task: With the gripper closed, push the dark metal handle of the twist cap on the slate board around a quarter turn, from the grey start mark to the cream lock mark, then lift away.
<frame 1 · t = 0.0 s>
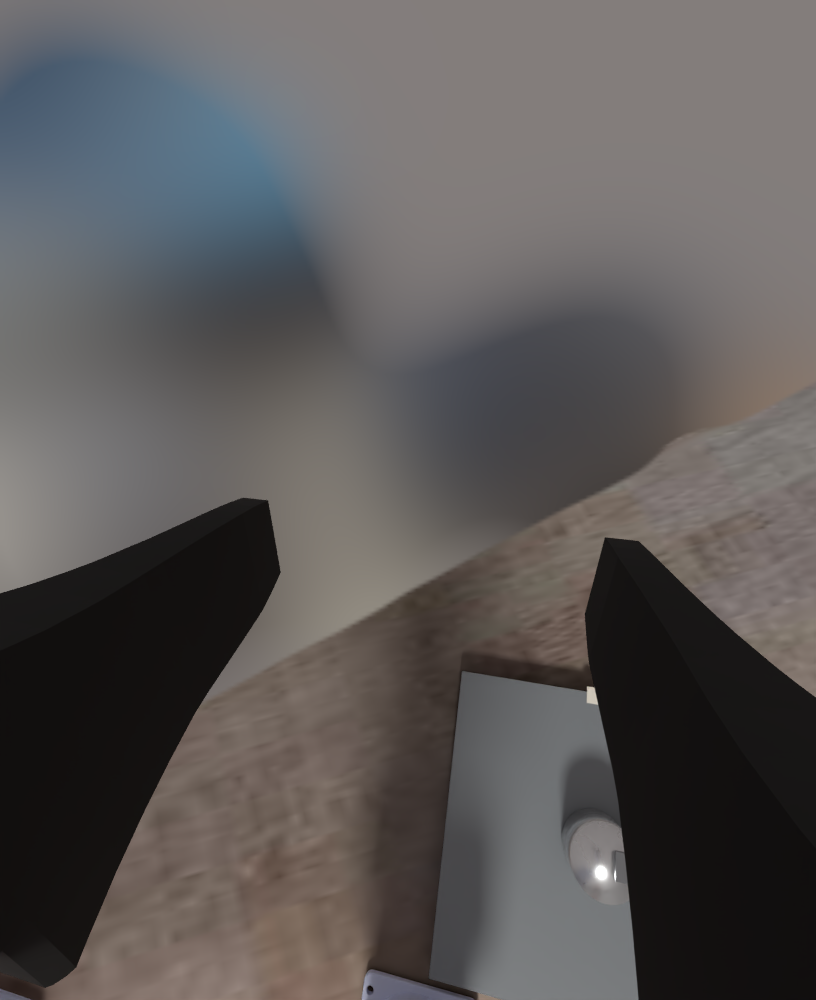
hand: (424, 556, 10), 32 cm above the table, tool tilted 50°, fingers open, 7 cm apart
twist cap: (659, 867, 30), point 4 cm above the table, hinge at 0.0°
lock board: (588, 835, 34), on the table
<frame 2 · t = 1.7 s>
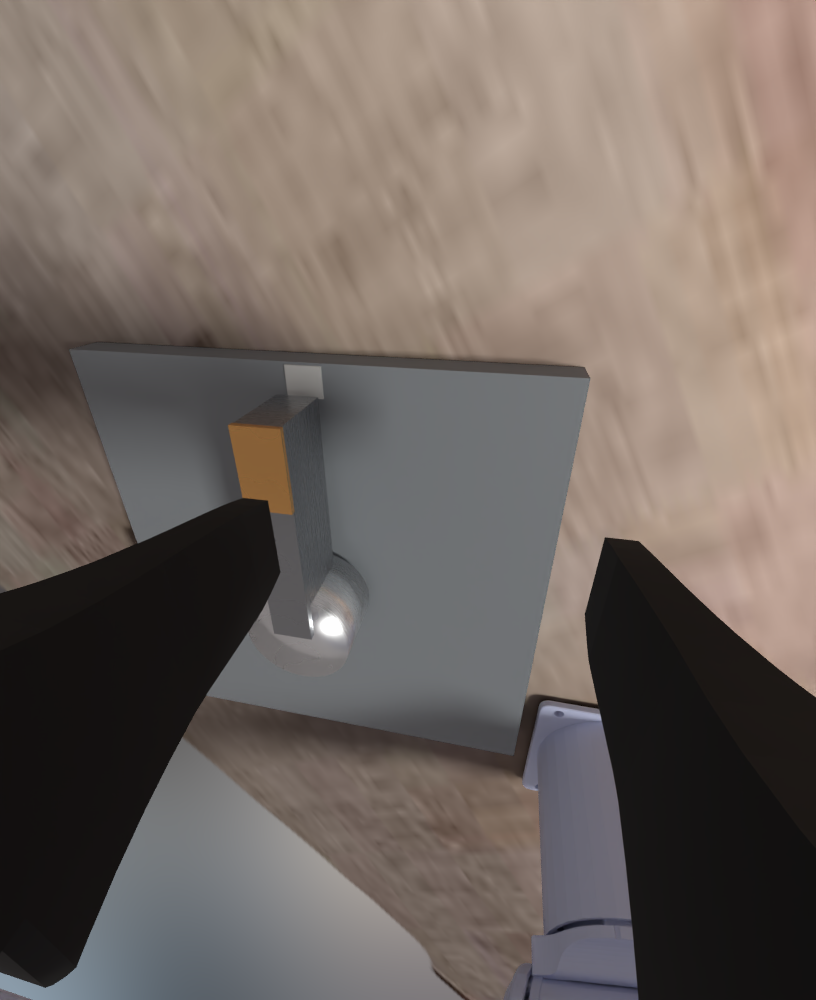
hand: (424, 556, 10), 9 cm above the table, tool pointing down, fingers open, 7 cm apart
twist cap: (300, 549, 18), point 4 cm above the table, hinge at 0.0°
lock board: (337, 566, 23), on the table
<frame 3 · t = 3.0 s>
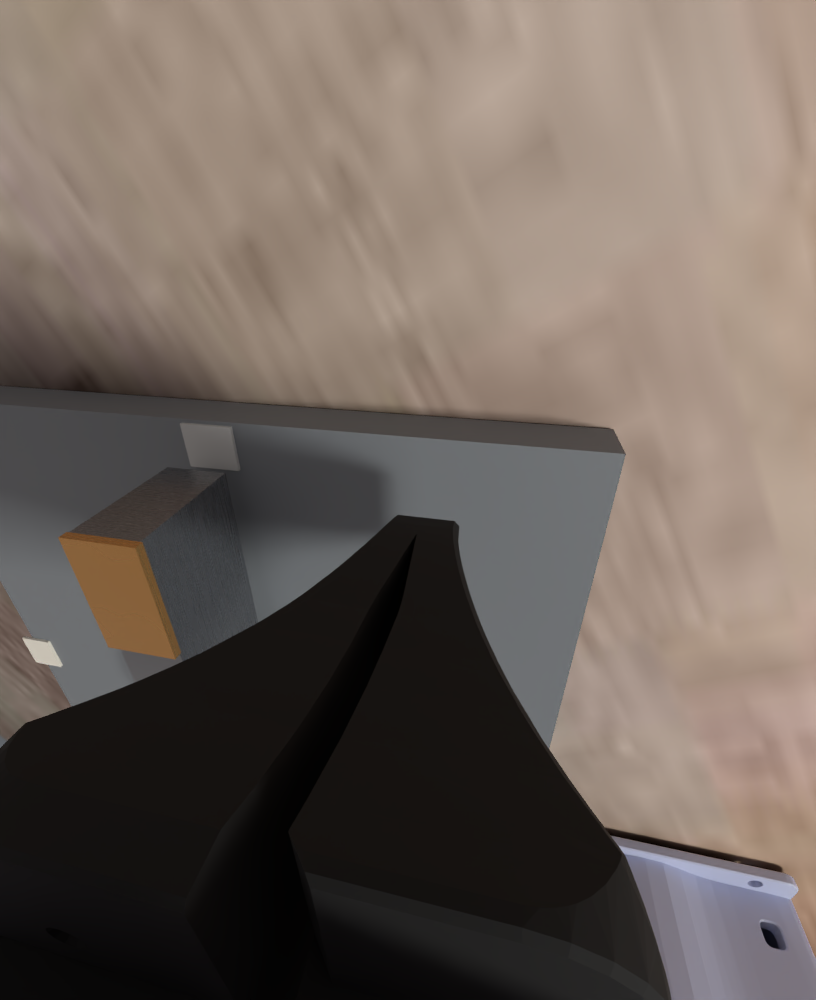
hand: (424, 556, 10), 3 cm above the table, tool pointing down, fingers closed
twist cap: (214, 673, 13), point 4 cm above the table, hinge at 0.0°
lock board: (285, 661, 18), on the table
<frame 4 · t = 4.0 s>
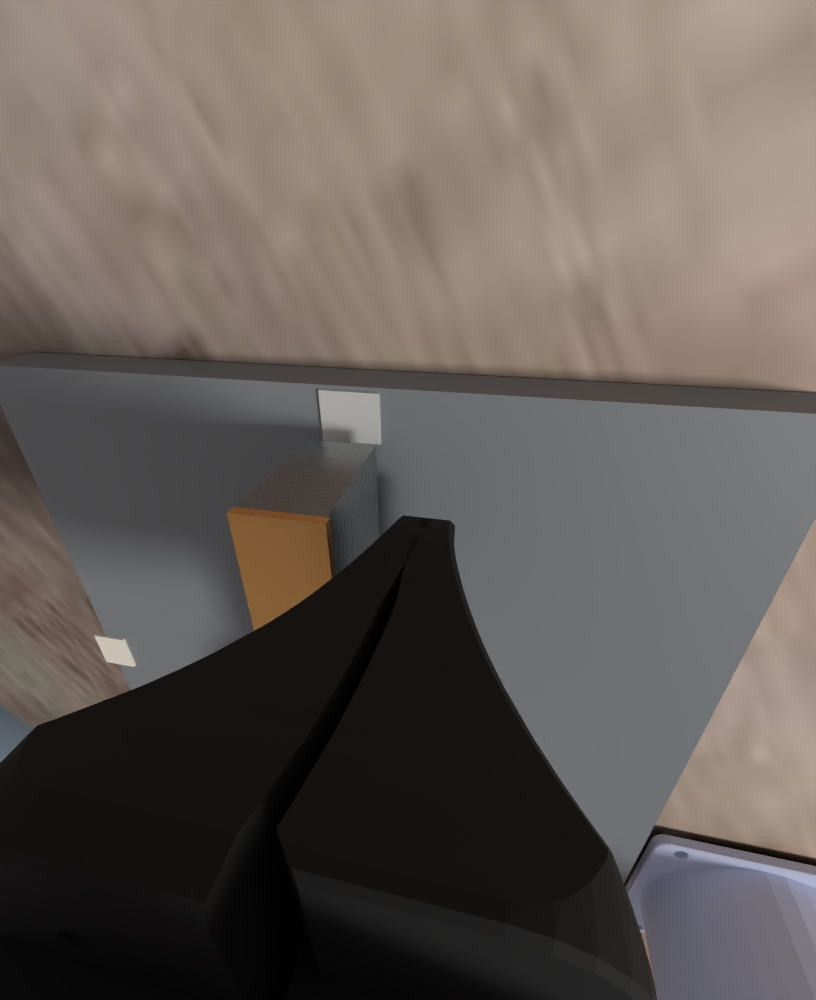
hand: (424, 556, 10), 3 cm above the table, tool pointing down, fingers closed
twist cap: (340, 673, 12), point 4 cm above the table, hinge at 0.0°, touching gripper
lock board: (380, 660, 17), on the table
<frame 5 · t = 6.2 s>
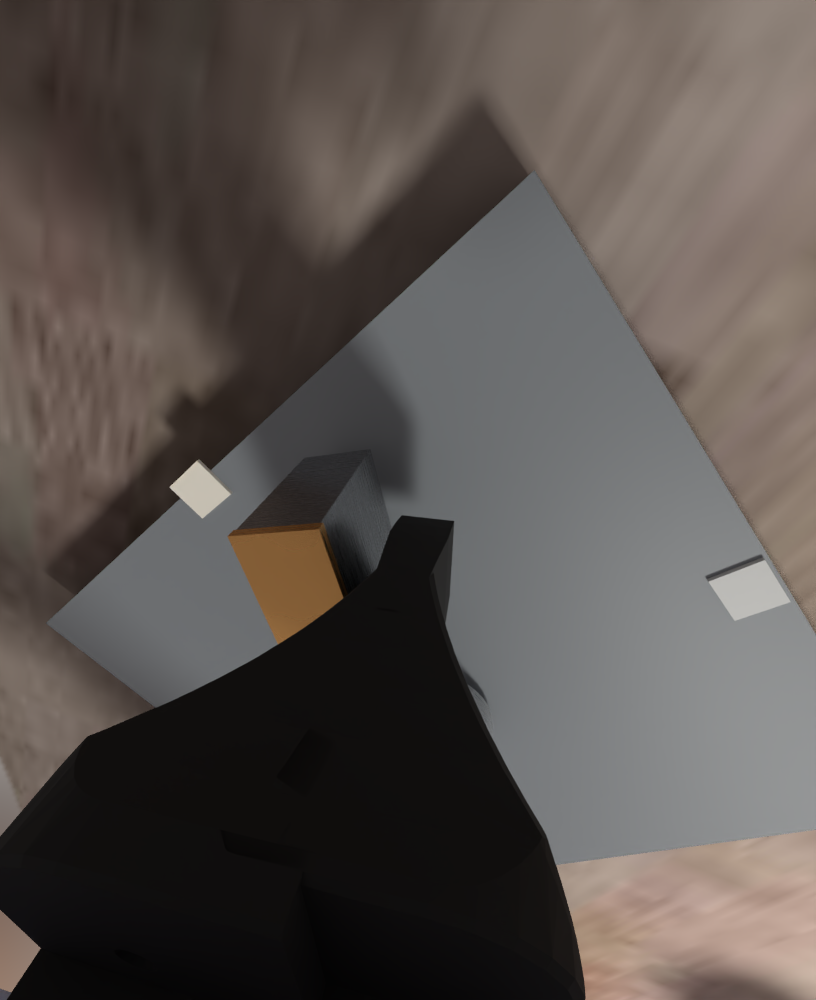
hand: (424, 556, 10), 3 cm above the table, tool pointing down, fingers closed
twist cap: (383, 684, 12), point 4 cm above the table, hinge at 62.3°, touching gripper
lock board: (432, 669, 16), on the table
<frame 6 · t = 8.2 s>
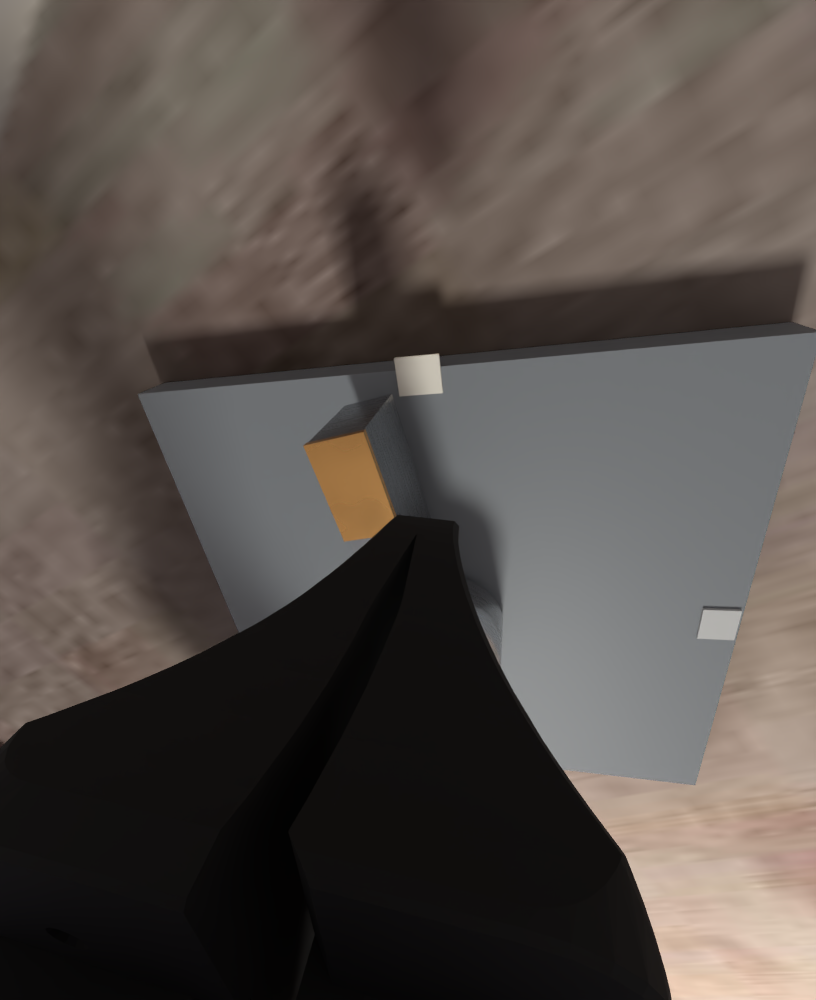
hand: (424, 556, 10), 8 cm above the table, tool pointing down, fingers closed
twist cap: (413, 575, 16), point 4 cm above the table, hinge at 99.2°
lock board: (452, 588, 20), on the table
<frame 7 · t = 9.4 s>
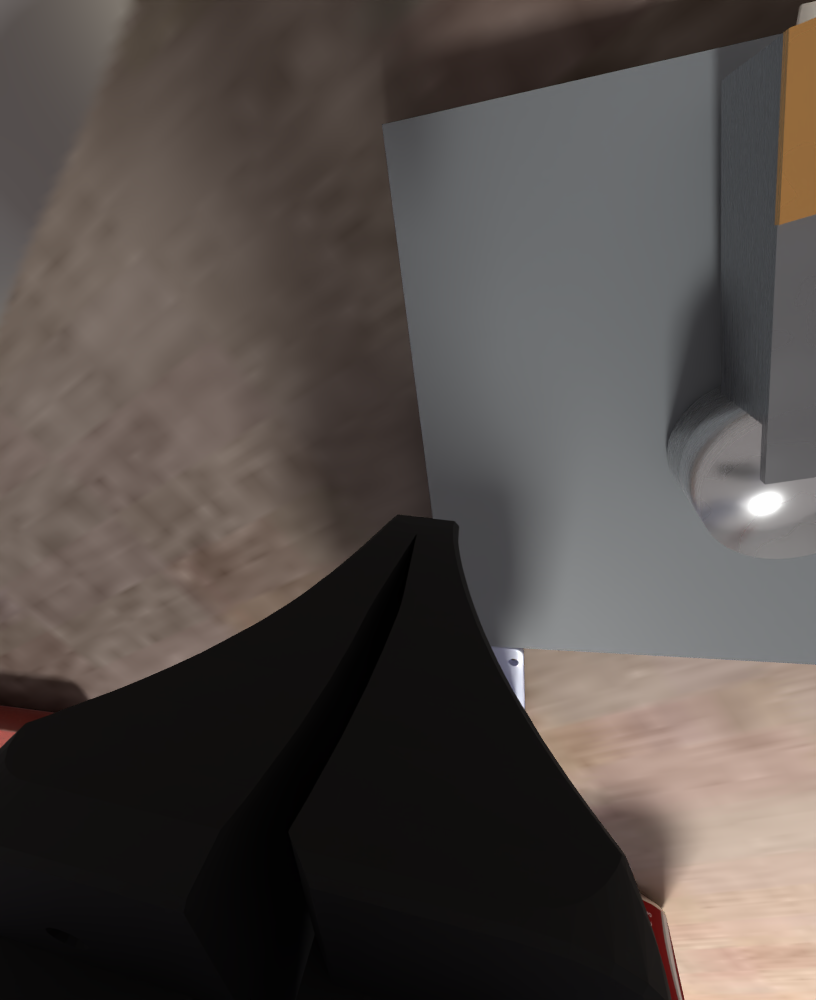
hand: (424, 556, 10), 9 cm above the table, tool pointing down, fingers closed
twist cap: (777, 340, 12), point 4 cm above the table, hinge at 99.3°
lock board: (722, 423, 16), on the table
soda can: (612, 896, 34), on the table
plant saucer: (65, 753, 42), on the table
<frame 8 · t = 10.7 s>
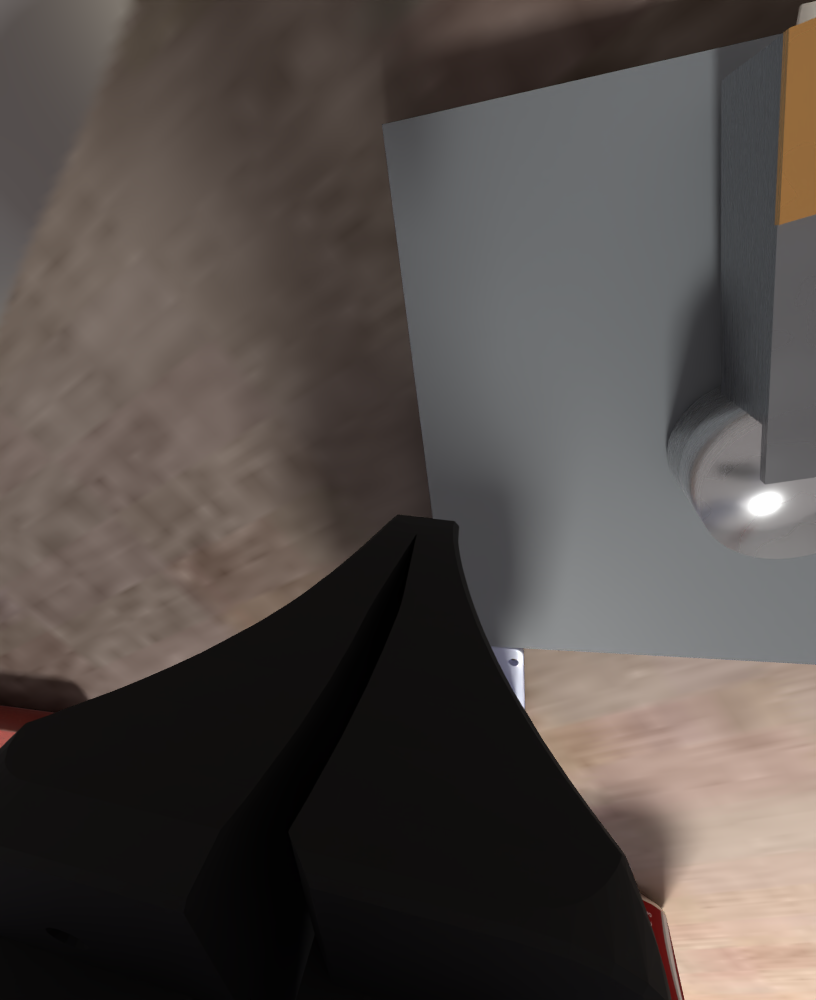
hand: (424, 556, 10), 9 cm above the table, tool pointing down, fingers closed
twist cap: (777, 340, 12), point 4 cm above the table, hinge at 99.3°
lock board: (722, 423, 16), on the table
soda can: (612, 896, 34), on the table
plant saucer: (65, 753, 42), on the table
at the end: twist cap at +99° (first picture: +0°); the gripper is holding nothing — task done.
